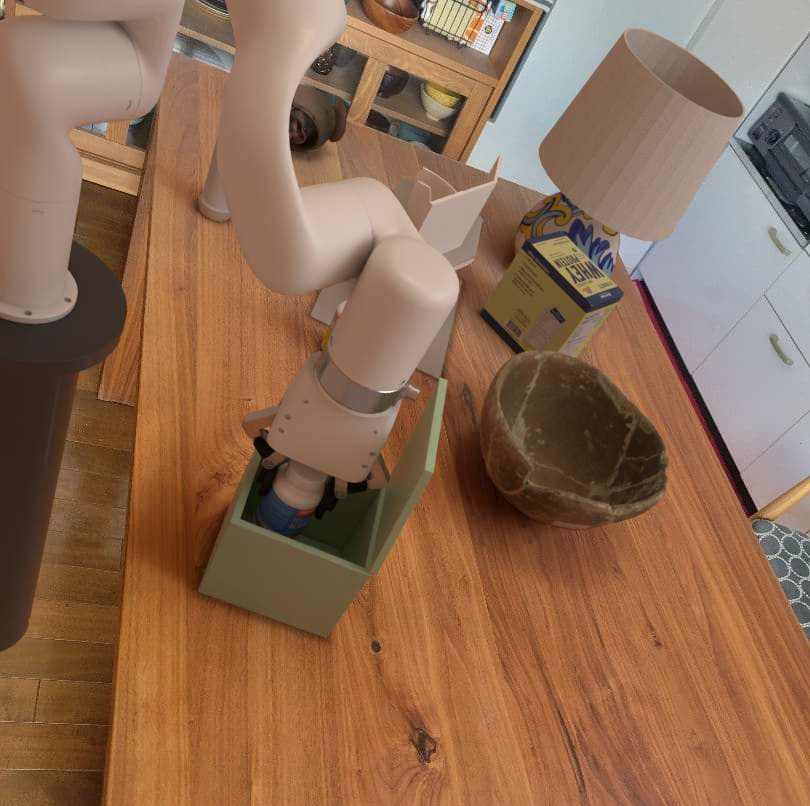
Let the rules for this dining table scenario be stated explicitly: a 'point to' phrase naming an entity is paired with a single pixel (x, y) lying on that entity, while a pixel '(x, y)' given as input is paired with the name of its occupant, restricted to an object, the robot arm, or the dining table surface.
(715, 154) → the table lamp
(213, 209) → the bottle
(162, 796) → the dining table surface
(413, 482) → the lid
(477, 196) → the architectural model
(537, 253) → the protein box
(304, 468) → the pill bottle
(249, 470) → the box
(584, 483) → the bowl
